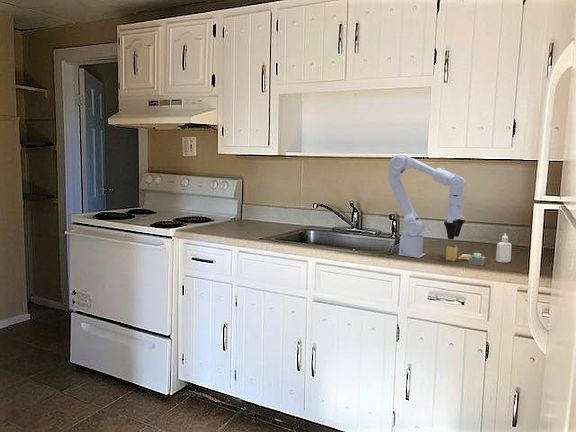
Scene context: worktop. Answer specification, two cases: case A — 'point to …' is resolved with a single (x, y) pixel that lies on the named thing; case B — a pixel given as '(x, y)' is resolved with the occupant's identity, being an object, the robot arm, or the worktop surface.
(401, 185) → the robot arm
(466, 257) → the compartment tray
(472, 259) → the button housing
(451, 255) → the block
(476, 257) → the button
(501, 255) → the eye dropper bottle
